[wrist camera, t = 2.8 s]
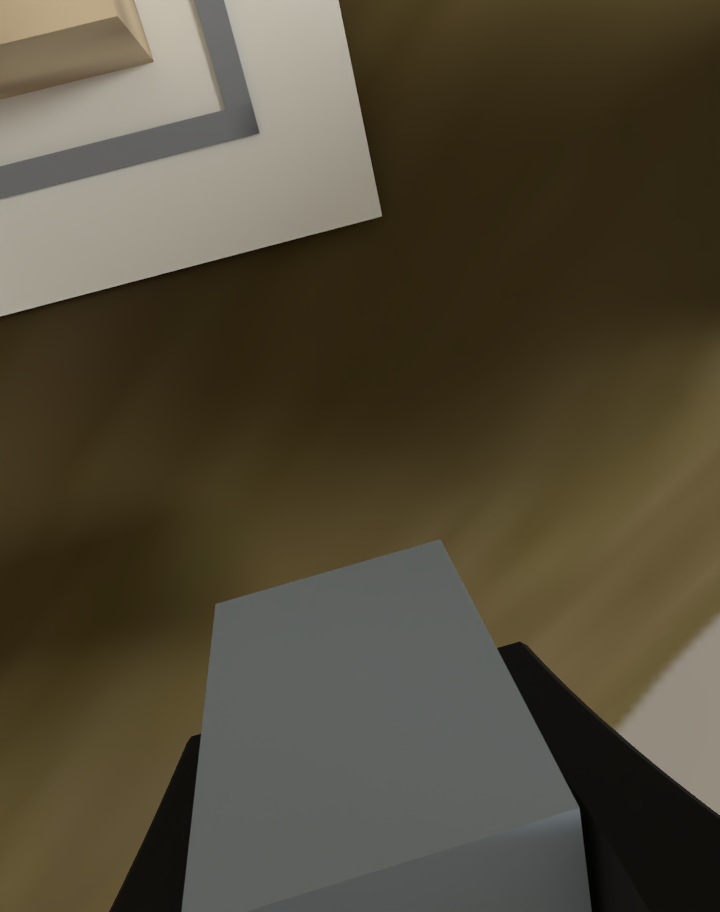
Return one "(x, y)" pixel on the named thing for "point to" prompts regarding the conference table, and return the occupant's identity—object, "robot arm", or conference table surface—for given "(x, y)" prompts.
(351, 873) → the grey rectangular block
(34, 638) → the conference table surface
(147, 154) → the white square board
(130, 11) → the maple slab
